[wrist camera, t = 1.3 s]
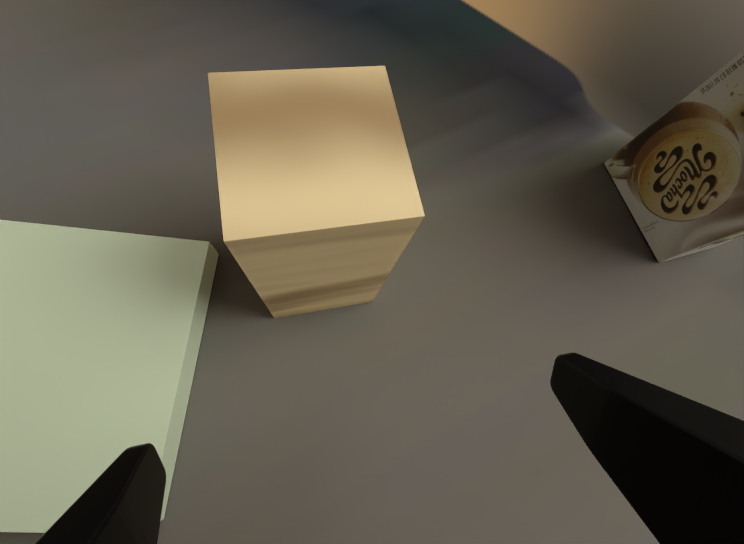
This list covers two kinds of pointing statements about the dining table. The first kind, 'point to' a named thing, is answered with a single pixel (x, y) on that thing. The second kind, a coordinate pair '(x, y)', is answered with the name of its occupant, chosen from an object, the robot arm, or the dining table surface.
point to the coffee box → (689, 169)
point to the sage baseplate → (91, 358)
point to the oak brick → (312, 183)
